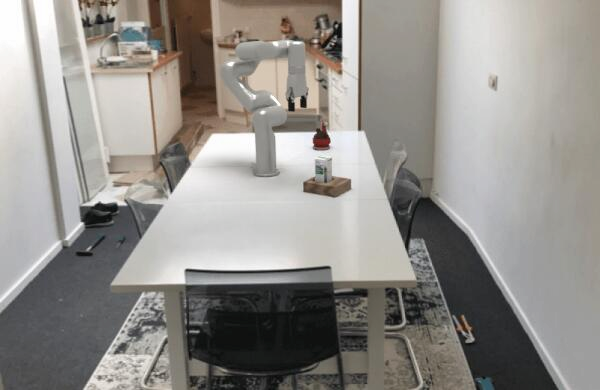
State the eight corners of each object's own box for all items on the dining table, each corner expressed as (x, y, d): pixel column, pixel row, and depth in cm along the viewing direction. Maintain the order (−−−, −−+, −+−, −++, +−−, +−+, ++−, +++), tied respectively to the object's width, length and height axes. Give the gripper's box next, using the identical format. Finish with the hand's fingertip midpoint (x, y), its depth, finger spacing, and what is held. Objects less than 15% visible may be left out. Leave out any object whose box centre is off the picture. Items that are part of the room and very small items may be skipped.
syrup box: (314, 190, 285) (314, 158, 281) (321, 186, 290) (320, 155, 286) (326, 192, 283) (325, 159, 278) (332, 188, 287) (332, 156, 283)
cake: (309, 147, 361) (309, 115, 356) (324, 145, 365) (324, 113, 360) (318, 151, 352) (317, 118, 347) (333, 149, 356) (333, 117, 350)
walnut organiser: (303, 191, 284) (303, 181, 282) (319, 183, 295) (319, 174, 293) (335, 197, 275) (335, 187, 274) (351, 188, 286) (351, 178, 285)
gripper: (300, 67, 292) (300, 105, 297) (278, 72, 278) (279, 112, 283) (314, 68, 288) (314, 107, 293) (293, 73, 274) (294, 113, 279)
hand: (297, 109), depth 288 cm, fingers open, 9 cm apart
